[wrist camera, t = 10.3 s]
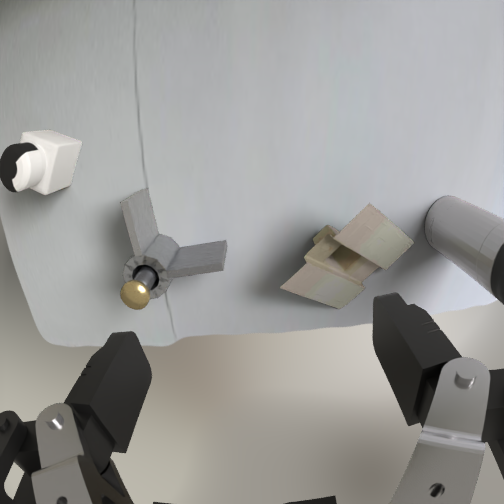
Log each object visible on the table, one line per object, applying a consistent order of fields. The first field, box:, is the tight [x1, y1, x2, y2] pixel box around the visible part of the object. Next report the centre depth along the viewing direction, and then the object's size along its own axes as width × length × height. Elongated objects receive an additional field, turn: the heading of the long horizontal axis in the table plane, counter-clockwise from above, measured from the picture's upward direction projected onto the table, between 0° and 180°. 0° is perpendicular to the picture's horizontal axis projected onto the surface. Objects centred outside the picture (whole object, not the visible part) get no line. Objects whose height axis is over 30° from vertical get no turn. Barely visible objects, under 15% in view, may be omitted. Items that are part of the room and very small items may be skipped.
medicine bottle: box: [0, 130, 82, 195], centre depth 34 cm, size 7×7×12 cm
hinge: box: [120, 188, 227, 299], centre depth 40 cm, size 13×13×8 cm
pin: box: [120, 264, 158, 310], centre depth 39 cm, size 3×3×13 cm
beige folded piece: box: [280, 203, 415, 309], centre depth 42 cm, size 16×9×15 cm
